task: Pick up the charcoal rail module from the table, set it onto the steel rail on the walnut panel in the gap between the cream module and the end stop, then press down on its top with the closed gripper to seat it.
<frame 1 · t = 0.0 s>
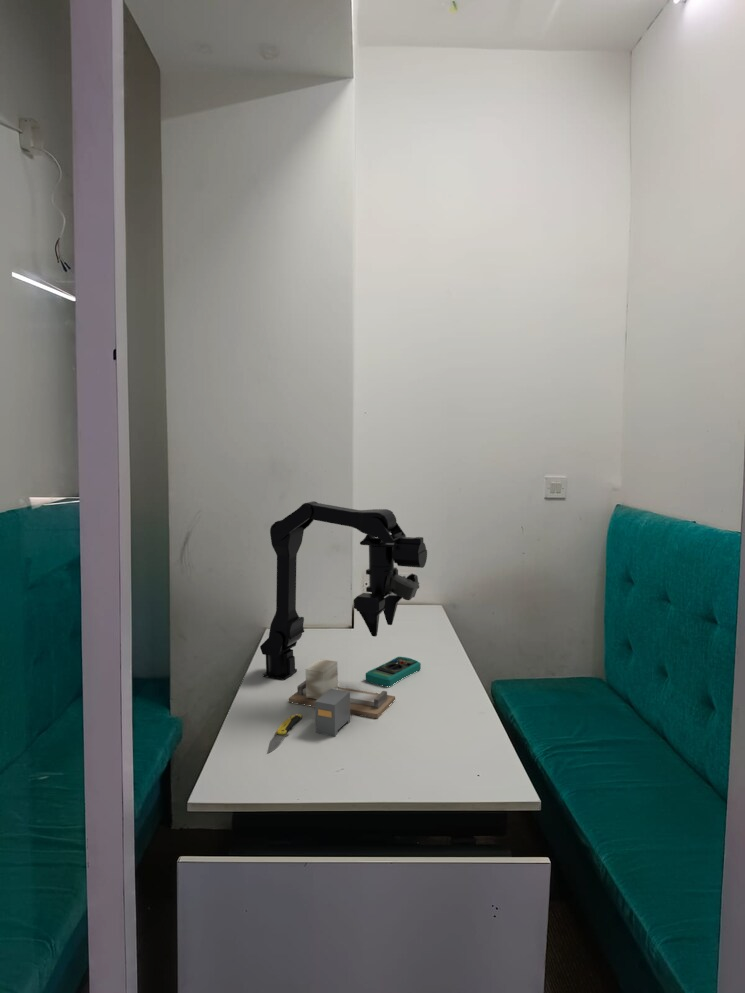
hand: (382, 630, 152), 15 cm above the table, tool pointing down, fingers open, 9 cm apart
utility knife: (283, 737, 133), on the table
din panel: (341, 701, 148), on the table
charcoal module: (333, 727, 135), on the table
digital multimeter: (393, 677, 163), on the table
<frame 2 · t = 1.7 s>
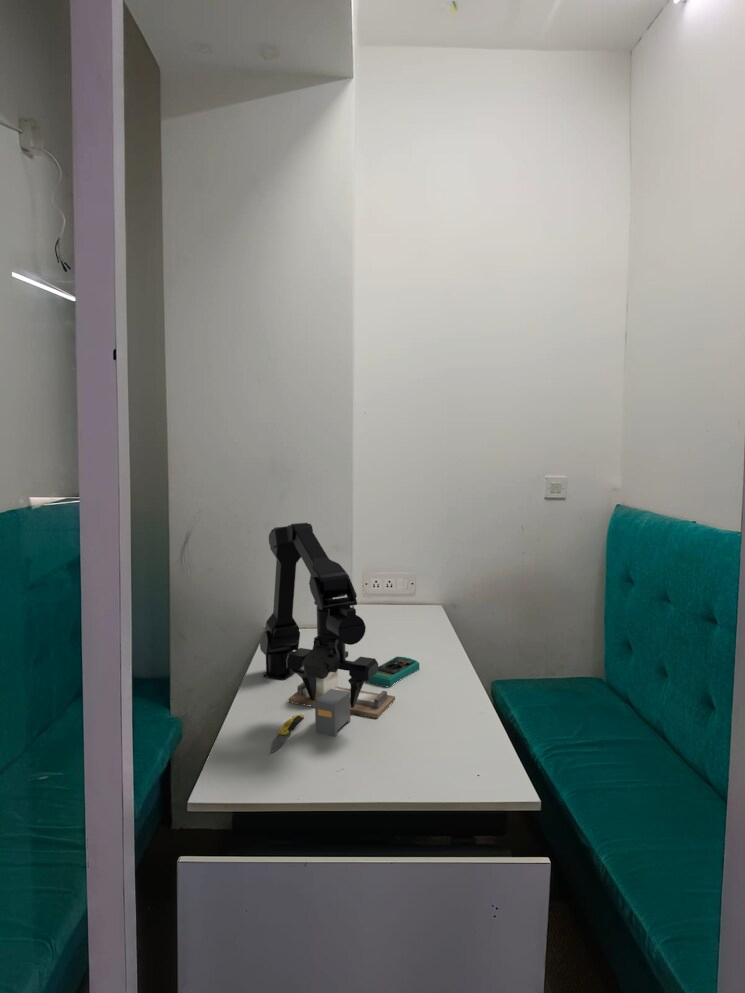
hand: (332, 703, 135), 5 cm above the table, tool pointing down, fingers open, 9 cm apart
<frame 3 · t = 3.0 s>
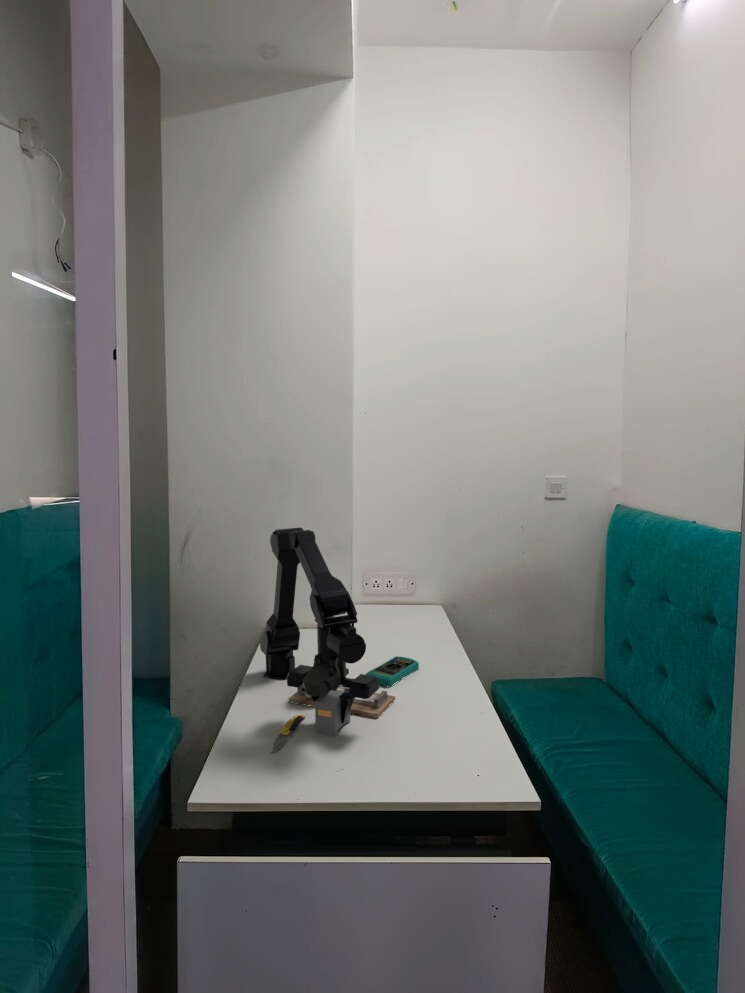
hand: (333, 720, 135), 1 cm above the table, tool pointing down, fingers closed on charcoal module, 4 cm apart
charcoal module: (333, 727, 135), on the table, touching gripper
everything else where it was.
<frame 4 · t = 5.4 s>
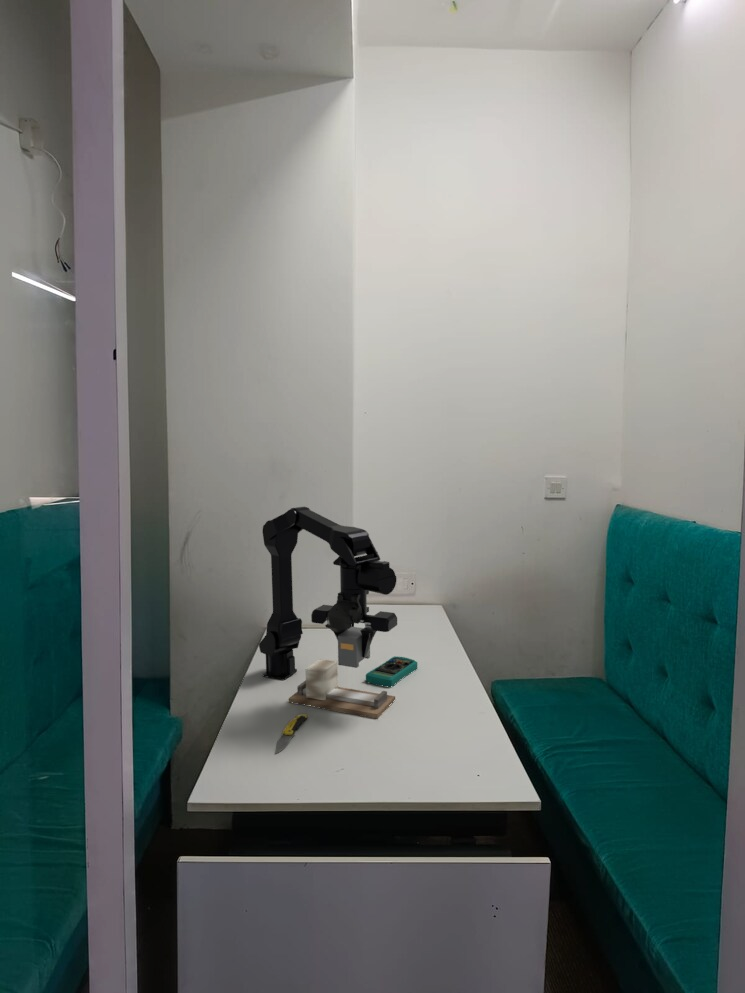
hand: (354, 655, 145), 11 cm above the table, tool pointing down, fingers closed on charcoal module, 4 cm apart
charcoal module: (354, 661, 145), point 10 cm above the table, touching gripper
when the fingers open (3 cm above the table, at t = 7.6 s): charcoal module stays where it is, resting on din panel.
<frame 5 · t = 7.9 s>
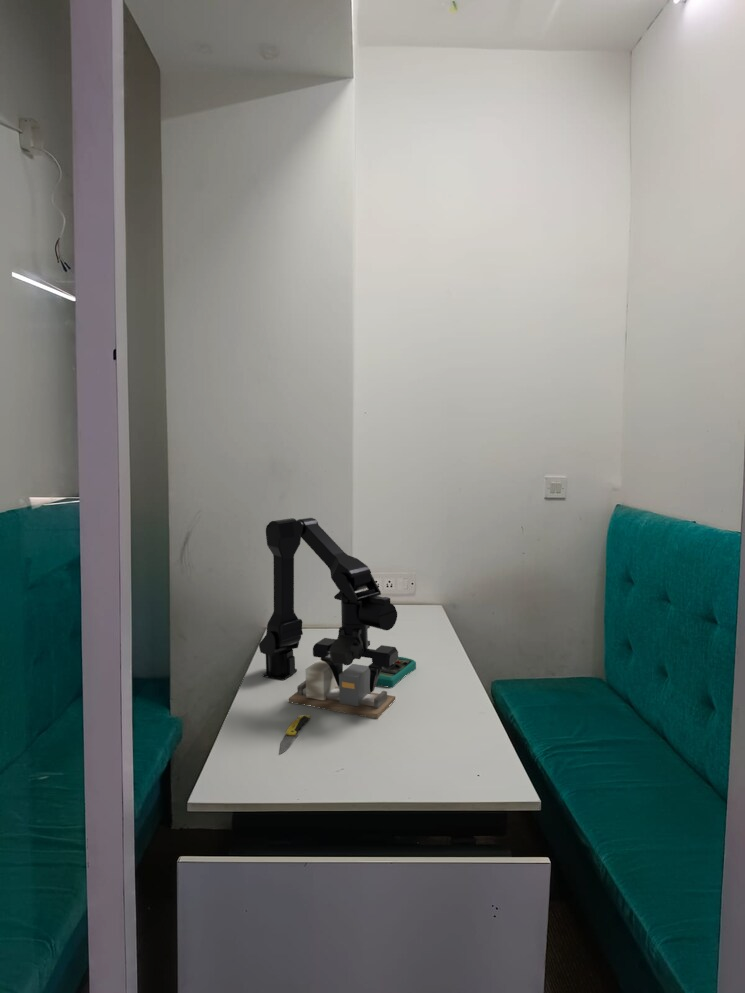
hand: (355, 688, 146), 4 cm above the table, tool pointing down, fingers open, 8 cm apart
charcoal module: (355, 698, 146), point 1 cm above the table, touching din panel
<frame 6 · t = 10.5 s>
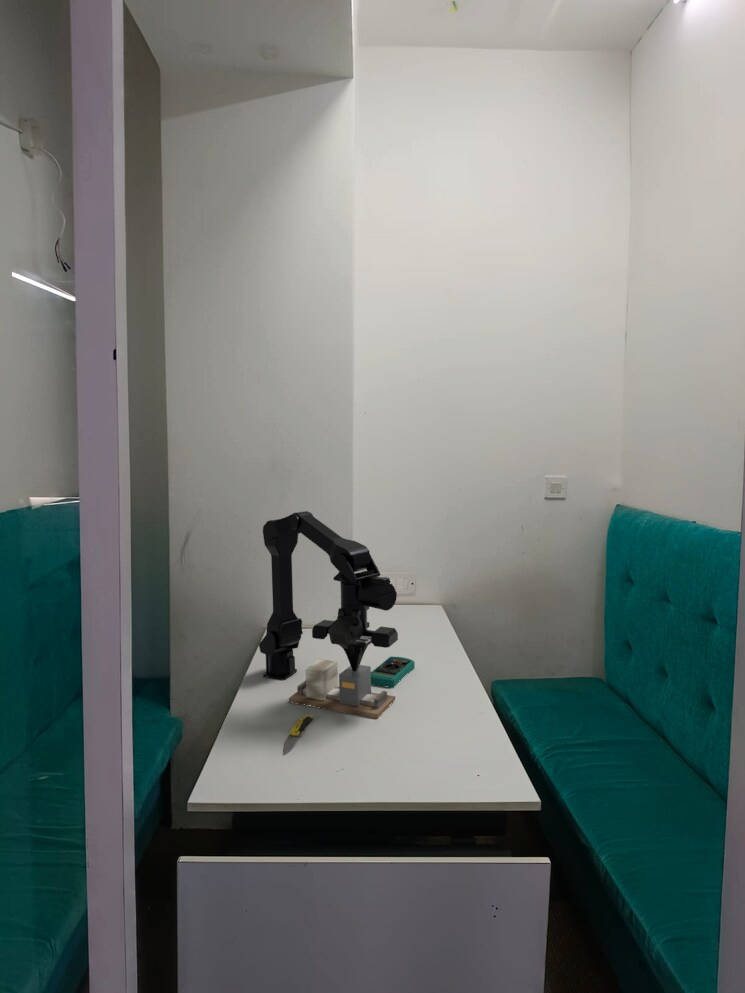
hand: (355, 670, 146), 8 cm above the table, tool pointing down, fingers closed, pressing on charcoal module
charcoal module: (355, 698, 146), point 1 cm above the table, touching din panel, gripper
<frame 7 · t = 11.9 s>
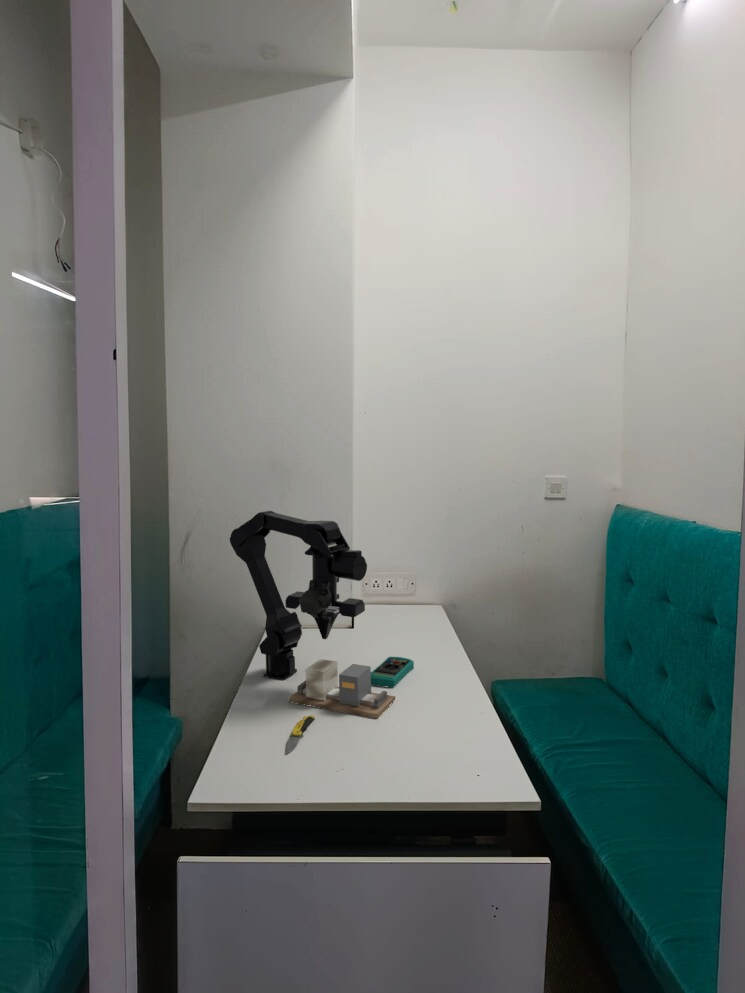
hand: (324, 638, 156), 12 cm above the table, tool pointing down, fingers closed
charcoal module: (355, 698, 146), point 1 cm above the table, touching din panel
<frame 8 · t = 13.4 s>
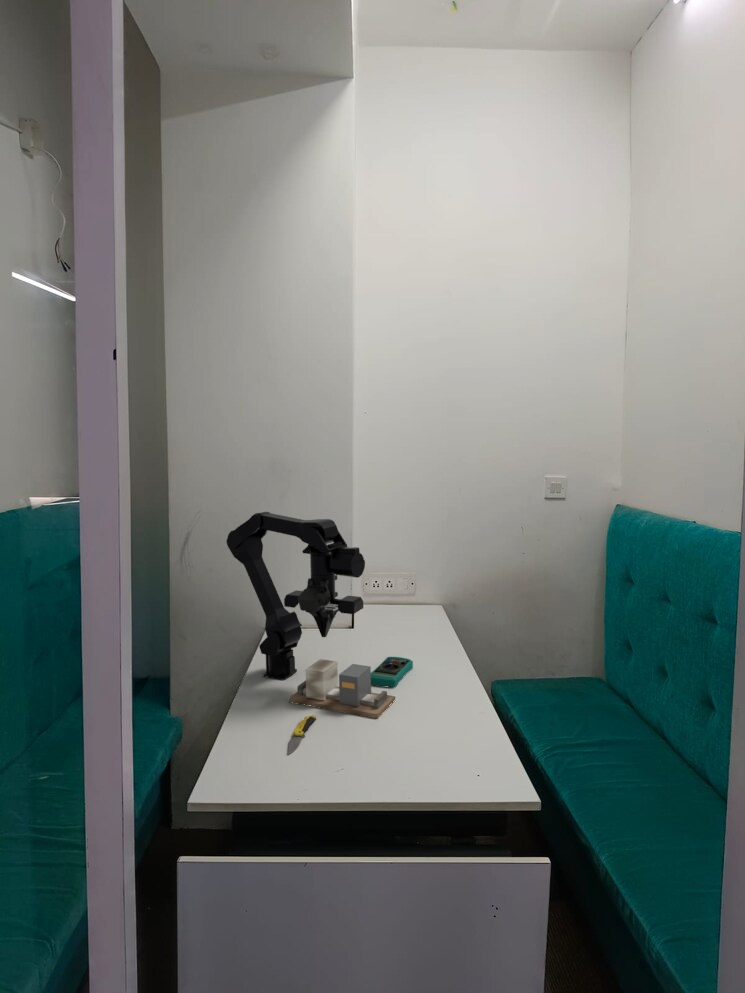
hand: (324, 636, 156), 12 cm above the table, tool pointing down, fingers closed
at the end: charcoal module 0.1 cm from the target spot on the din panel, point 1.2 cm above the din panel's base; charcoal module tilted 0°; the gripper is holding nothing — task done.
